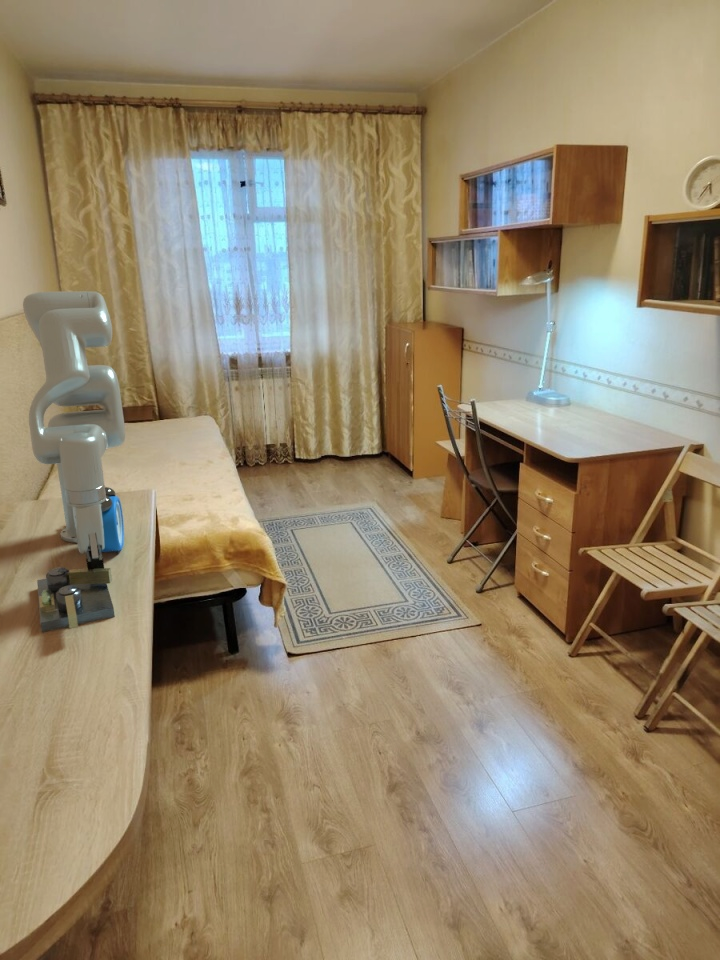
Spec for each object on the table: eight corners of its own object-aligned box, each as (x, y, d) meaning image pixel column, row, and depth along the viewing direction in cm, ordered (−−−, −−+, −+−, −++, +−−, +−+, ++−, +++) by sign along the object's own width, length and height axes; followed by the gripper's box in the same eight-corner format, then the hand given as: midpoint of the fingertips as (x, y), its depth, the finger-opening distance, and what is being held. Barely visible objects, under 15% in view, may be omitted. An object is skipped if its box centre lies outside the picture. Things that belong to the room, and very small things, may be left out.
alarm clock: (120, 559, 157) (113, 499, 152) (92, 562, 155) (84, 501, 151) (125, 538, 169) (119, 482, 164) (99, 541, 168) (92, 484, 163)
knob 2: (57, 603, 132) (54, 586, 131) (81, 598, 134) (79, 582, 132) (61, 633, 121) (58, 615, 120) (87, 627, 123) (84, 610, 122)
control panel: (38, 588, 143) (35, 569, 141) (103, 576, 148) (100, 558, 147) (41, 632, 126) (38, 611, 124) (114, 616, 131) (112, 596, 130)
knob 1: (44, 591, 136) (41, 575, 135) (52, 581, 141) (50, 566, 140) (108, 589, 137) (106, 573, 136) (114, 579, 141) (112, 564, 140)
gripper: (63, 485, 141) (75, 565, 146) (68, 508, 128) (80, 594, 134) (101, 481, 144) (111, 559, 150) (109, 502, 131) (120, 587, 137)
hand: (96, 575), depth 142 cm, fingers closed
